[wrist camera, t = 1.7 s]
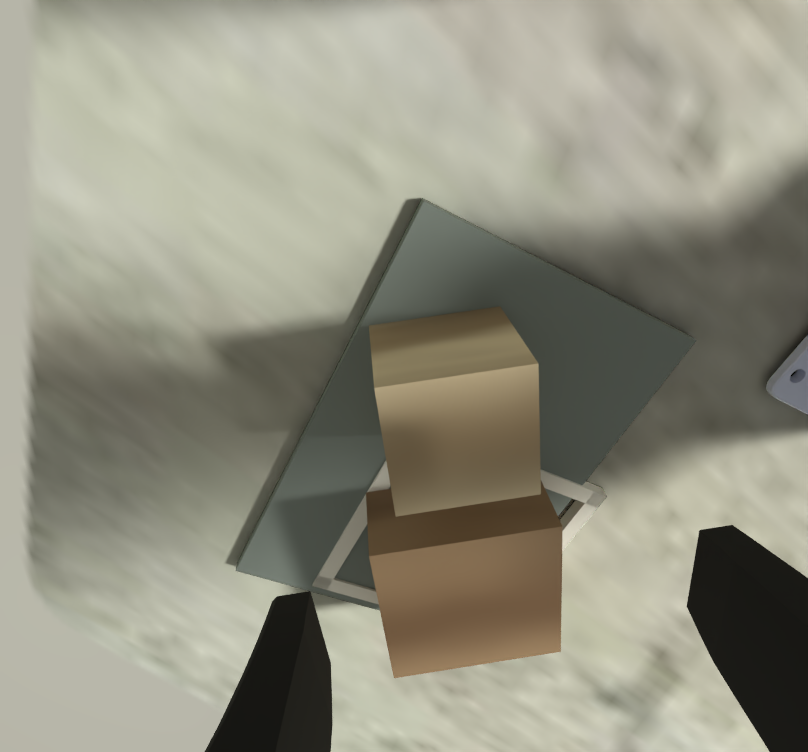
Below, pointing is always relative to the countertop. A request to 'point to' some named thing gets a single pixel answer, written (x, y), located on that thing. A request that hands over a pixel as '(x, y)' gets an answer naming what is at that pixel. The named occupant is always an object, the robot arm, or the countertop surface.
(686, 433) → the countertop surface
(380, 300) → the slate mat
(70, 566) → the countertop surface
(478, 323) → the maple cube
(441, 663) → the walnut slab
